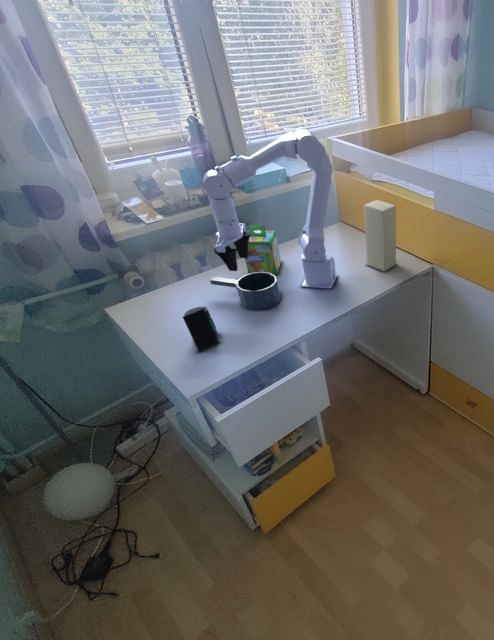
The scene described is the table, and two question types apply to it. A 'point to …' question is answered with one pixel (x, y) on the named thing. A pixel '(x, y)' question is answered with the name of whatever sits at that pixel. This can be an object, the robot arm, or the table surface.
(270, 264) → the chalk box
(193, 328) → the speaker
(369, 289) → the table surface
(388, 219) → the tall cream block
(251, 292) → the saucepan
